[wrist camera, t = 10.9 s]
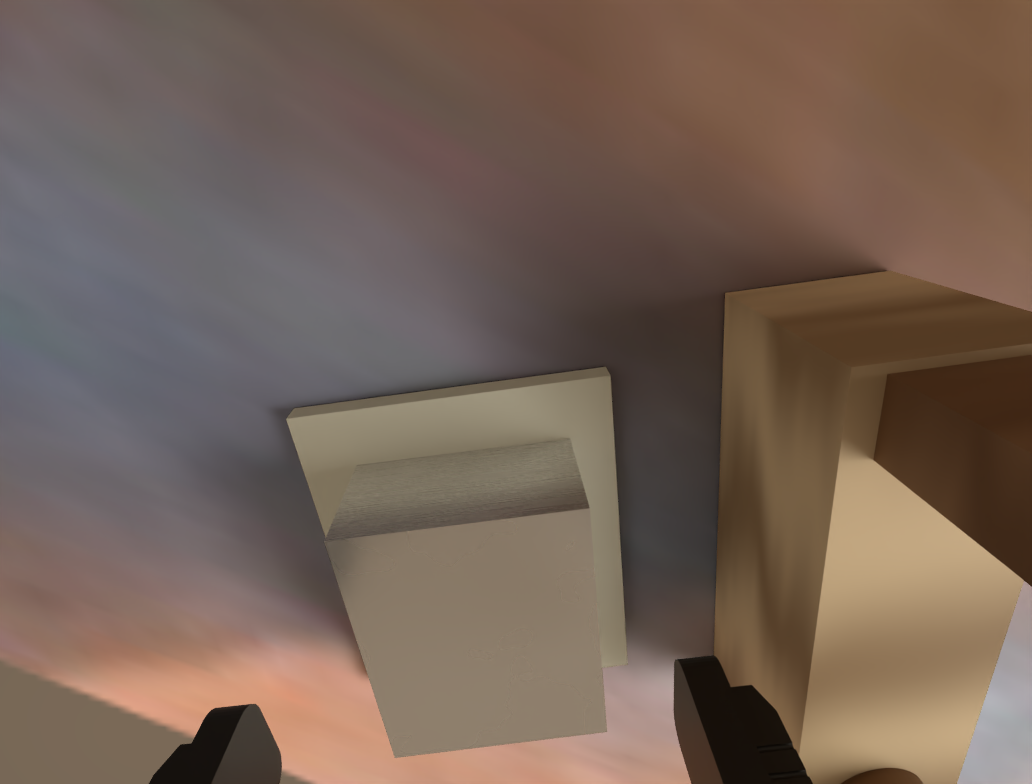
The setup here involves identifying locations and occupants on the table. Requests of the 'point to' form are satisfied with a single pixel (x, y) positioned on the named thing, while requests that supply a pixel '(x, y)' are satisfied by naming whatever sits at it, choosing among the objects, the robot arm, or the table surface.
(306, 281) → the table surface
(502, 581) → the lever cap
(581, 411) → the mat
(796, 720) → the body
